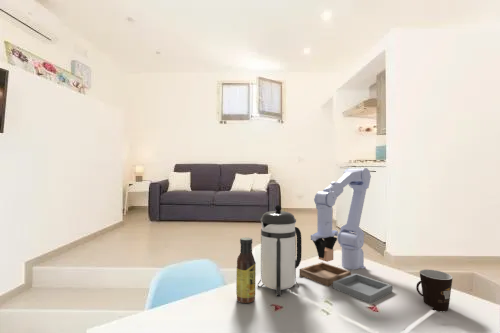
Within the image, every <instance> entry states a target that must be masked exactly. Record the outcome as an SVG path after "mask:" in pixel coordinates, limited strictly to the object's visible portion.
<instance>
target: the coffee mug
mask: <svg viewBox="0 0 500 333" xmlns="http://www.w3.org/2000/svg"><path fill="white" fill-rule="evenodd" d="M419 279H420V280H419V281H418V282H417V283H416V291H417V293H418V294H419V295H420V296H421V297H422V299H423V300H422V301H423V303H424V304H425V305H426V306H428V307H431V310H432V311H435V310H436V311H435V312H440V311H442V312H443V311H445V312H448V311H449V306H450V300H451V292H452V284H453V275H451V274H450V273H447V272H444V271H441V270H436V269H421V270H419ZM420 286H421V291H420V289H419V287H420Z"/></svg>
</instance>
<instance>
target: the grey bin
mask: <svg viewBox="0 0 500 333" xmlns="http://www.w3.org/2000/svg"><path fill="white" fill-rule="evenodd" d="M332 289H335V290H337V291H339V292H342V293H343V294H346V295H349V296H351V297H354V298H357V299H358V300H360V301H361V300H362V301H364V302H366V303H369V304H371V303H373V302H375V301H377V300H379V299H382V298H383V297H385V296H387V295H389V294H391V293H392V292H393V285H392V284H389V283H386V282H383V281H380V280H377V279H374V278H371V277H368V276H366V275H364V274H363V275H362V274H359V273H356V272H355V273H351V275H350V276H347V277H344V278H342V279H339V280H336V281H334V282H333V285H332Z"/></svg>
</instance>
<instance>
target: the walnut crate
mask: <svg viewBox="0 0 500 333" xmlns="http://www.w3.org/2000/svg"><path fill="white" fill-rule="evenodd" d="M350 275H352V272H351V271H350V270H348V269H345V268H341V267H339V266H336V265H332V264H329V263H325V262H323V261H322V262H318V263H315V264H311V265H308V266H305V267H301V268H300V269H299V277H300V278H302V279H303V278H307V279H309V280H312V281H314V282H317V283H319V284H322V285H324V286H326V287H330V286H333V282H334V281H336V280H339V279H342V278H344V277H347V276H350Z"/></svg>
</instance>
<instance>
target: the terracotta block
mask: <svg viewBox="0 0 500 333" xmlns="http://www.w3.org/2000/svg"><path fill="white" fill-rule="evenodd" d="M318 260H320V261H322V262H323V261H324V262H328V263H329V262H330V261H333V260H334V248H333V249H330V248H326V247H325V253H324V258H321V257H319V256H318Z"/></svg>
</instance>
